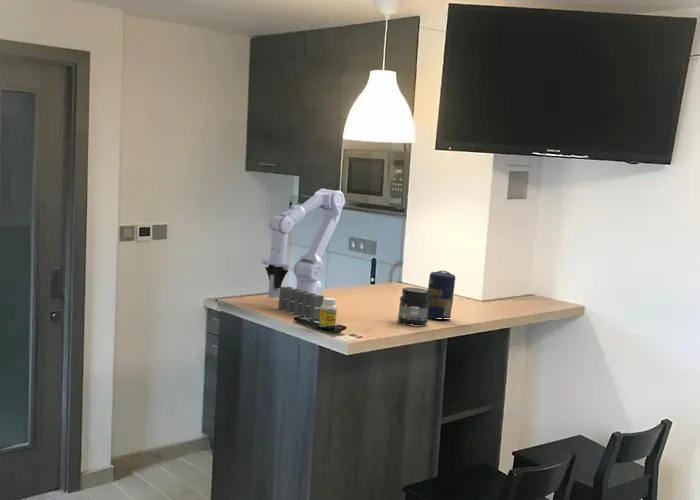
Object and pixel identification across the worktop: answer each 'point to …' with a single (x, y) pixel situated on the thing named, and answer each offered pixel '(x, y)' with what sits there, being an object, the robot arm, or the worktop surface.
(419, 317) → the supplement container
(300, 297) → the domino
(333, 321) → the supplement bottle
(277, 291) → the domino
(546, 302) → the worktop surface
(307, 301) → the domino
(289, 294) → the domino
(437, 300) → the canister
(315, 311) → the domino
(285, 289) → the domino
